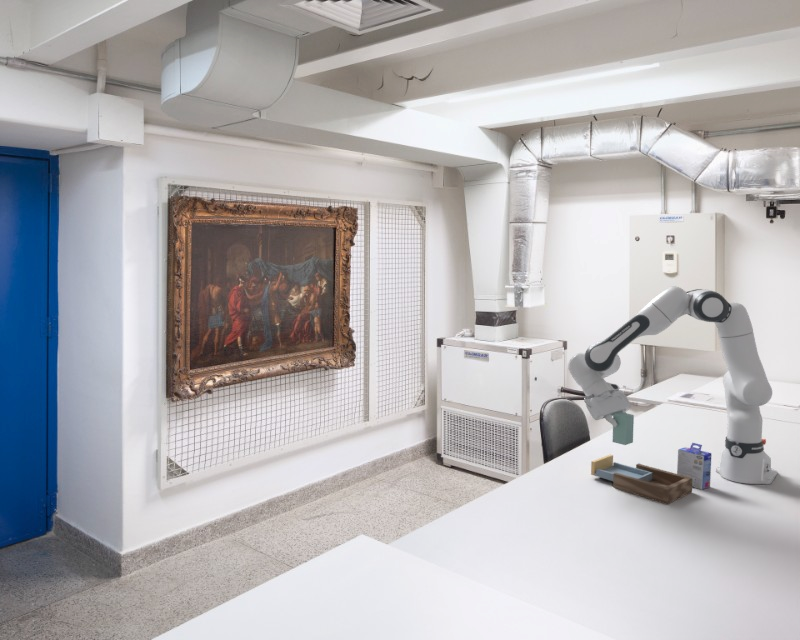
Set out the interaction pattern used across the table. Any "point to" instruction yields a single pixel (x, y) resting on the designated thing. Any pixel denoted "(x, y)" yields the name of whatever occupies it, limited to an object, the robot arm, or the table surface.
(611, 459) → the tray
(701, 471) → the ink cartridge box
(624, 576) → the table surface
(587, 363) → the robot arm
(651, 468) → the dock
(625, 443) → the block
